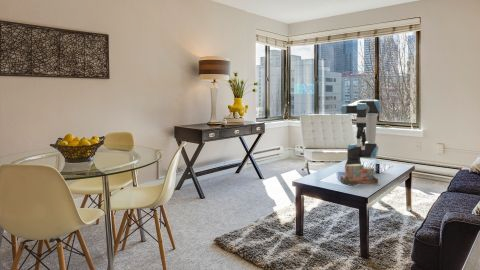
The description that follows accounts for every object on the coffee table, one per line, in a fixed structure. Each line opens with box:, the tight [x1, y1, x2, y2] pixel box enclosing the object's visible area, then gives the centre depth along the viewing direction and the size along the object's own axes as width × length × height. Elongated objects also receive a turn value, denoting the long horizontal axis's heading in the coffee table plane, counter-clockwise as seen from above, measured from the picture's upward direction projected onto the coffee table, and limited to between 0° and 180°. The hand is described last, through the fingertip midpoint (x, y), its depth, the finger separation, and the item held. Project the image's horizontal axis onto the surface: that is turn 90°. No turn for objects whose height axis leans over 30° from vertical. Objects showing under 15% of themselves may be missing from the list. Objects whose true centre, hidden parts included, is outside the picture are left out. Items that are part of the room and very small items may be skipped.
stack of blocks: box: [344, 163, 375, 181], centre depth 270 cm, size 21×6×12 cm, turn 99°
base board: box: [340, 174, 379, 185], centre depth 271 cm, size 12×26×4 cm, turn 85°
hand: (360, 148), depth 277 cm, fingers open, 13 cm apart
